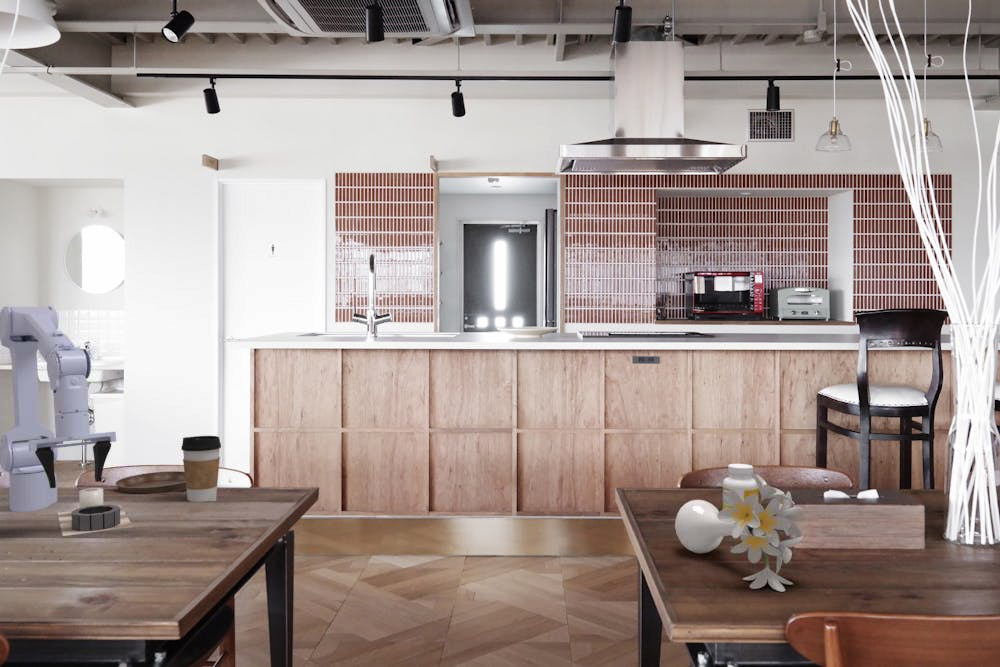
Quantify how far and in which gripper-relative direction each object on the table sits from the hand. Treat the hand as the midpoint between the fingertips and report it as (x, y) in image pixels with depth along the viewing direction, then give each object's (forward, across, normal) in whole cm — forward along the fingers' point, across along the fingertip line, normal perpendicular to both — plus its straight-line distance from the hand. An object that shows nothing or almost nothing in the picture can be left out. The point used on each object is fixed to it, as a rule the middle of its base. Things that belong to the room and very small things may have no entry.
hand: (75, 484), depth 149 cm
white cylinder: (+8, +5, +15) cm, 17 cm away
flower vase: (+23, +83, -85) cm, 121 cm away
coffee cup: (+9, +27, +15) cm, 32 cm away
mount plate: (+9, +4, +10) cm, 14 cm away
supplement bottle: (+22, +103, -72) cm, 128 cm away
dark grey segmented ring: (+9, +4, +5) cm, 11 cm away
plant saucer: (+7, +22, +35) cm, 42 cm away
